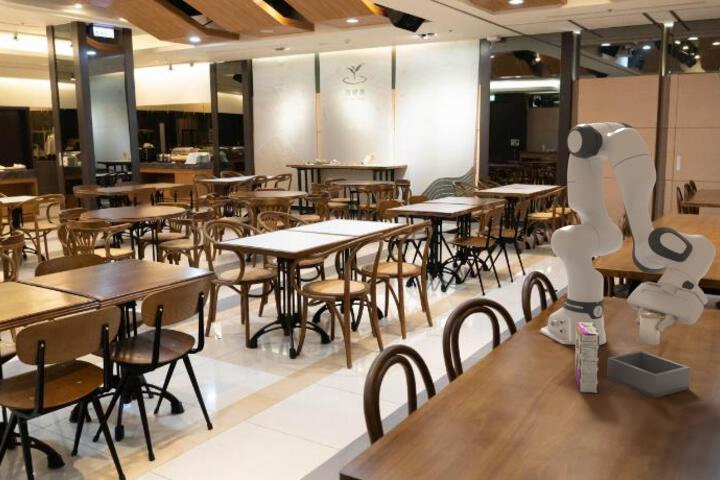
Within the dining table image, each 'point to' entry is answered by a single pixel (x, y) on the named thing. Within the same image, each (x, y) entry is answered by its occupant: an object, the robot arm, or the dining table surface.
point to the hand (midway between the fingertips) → (648, 326)
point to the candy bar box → (586, 357)
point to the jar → (649, 327)
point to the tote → (648, 373)
